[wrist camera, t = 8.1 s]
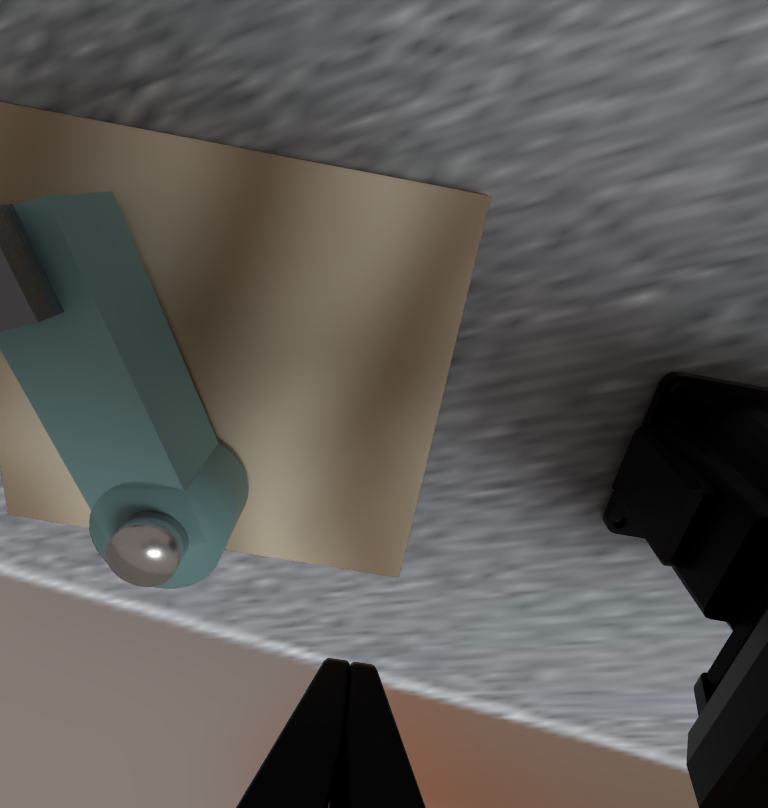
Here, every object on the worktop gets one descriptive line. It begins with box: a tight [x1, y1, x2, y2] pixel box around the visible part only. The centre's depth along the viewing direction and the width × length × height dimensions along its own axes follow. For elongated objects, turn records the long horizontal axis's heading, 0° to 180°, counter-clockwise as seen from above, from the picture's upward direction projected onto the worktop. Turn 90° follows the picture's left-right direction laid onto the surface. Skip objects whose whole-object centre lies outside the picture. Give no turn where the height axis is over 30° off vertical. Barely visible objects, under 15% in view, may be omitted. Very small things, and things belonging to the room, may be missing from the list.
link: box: [0, 191, 249, 588], centre depth 15 cm, size 12×4×4 cm, turn 14°
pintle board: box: [0, 102, 491, 578], centre depth 15 cm, size 15×14×6 cm
